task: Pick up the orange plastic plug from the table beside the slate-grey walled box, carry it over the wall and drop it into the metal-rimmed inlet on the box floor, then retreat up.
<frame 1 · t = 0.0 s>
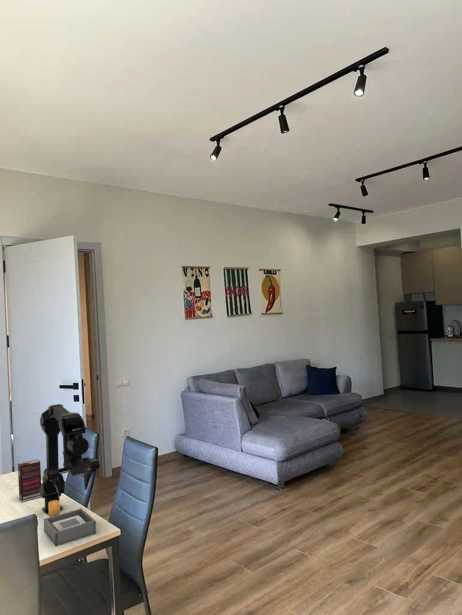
hand: (73, 492, 162), 15 cm above the table, fingers open, 9 cm apart
inlet box: (69, 532, 163), on the table
supplement box: (30, 498, 198), on the table
plug: (54, 523, 171), on the table
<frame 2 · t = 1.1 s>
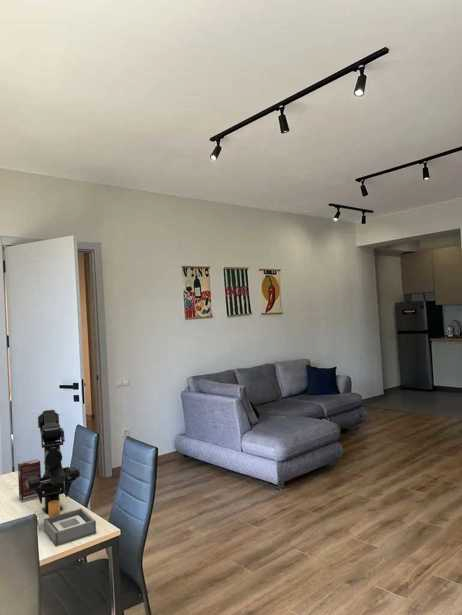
hand: (53, 500, 171), 9 cm above the table, fingers open, 9 cm apart
nothing on the table moved.
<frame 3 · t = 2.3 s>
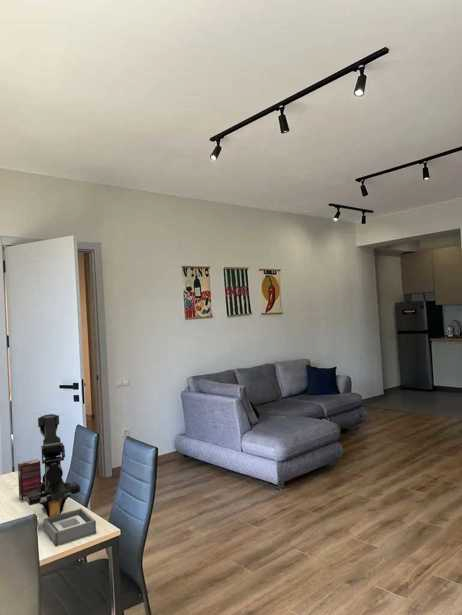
hand: (54, 515, 171), 3 cm above the table, fingers closed on plug, 4 cm apart
plug: (54, 523, 171), on the table, touching gripper
everything else where it was.
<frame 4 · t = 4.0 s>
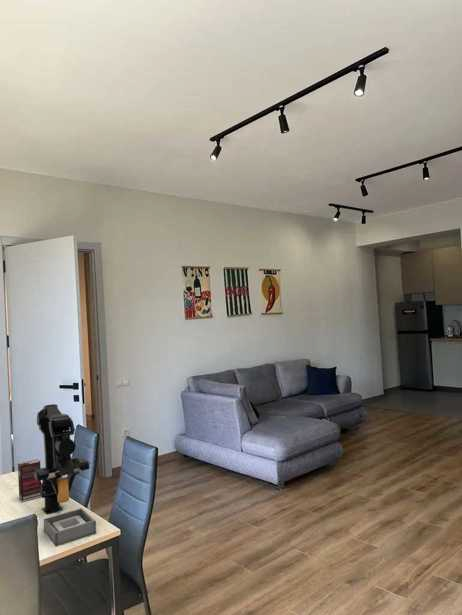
hand: (63, 493, 166), 13 cm above the table, fingers closed on plug, 4 cm apart
plug: (63, 500, 165), point 11 cm above the table, touching gripper
everything else where it was.
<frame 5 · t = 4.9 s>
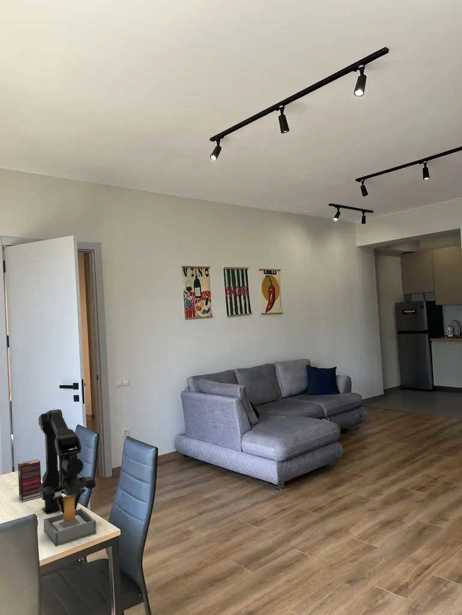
hand: (68, 511, 163), 7 cm above the table, fingers closed on plug, 4 cm apart
plug: (69, 519, 163), point 5 cm above the table, touching gripper
everything else where it was.
when the fingers open (5 cm above the table, at t = 5.8 s): plug stays where it is, resting on inlet box.
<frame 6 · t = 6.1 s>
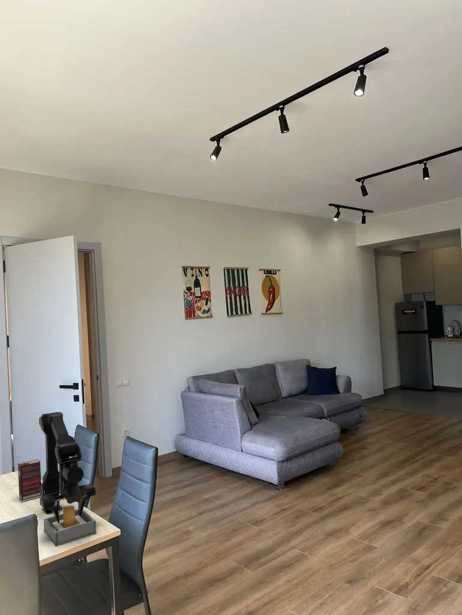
hand: (69, 519, 163), 5 cm above the table, fingers open, 7 cm apart
plug: (69, 530, 163), point 1 cm above the table, touching inlet box
everything else where it was.
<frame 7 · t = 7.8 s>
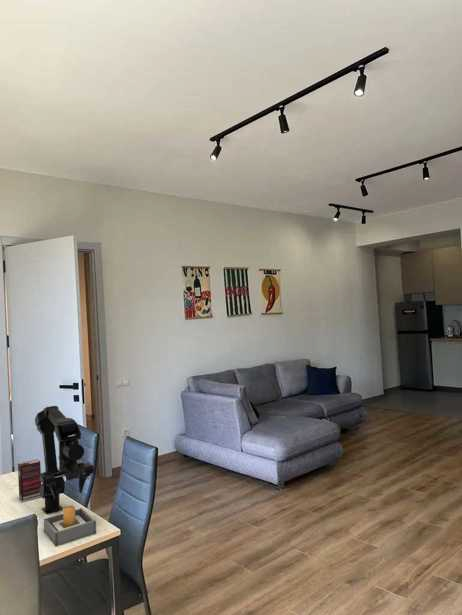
hand: (68, 495, 168), 11 cm above the table, fingers open, 9 cm apart
nothing on the table moved.
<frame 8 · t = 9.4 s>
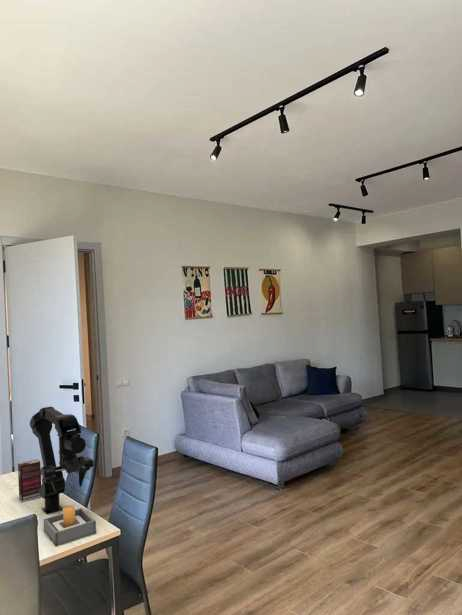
hand: (68, 489, 173), 12 cm above the table, fingers open, 9 cm apart
nothing on the table moved.
at the end: plug 0.0 cm off-centre on the inlet box, point 0.8 cm above the inlet box's base; plug tilted 0°; the gripper is holding nothing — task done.
